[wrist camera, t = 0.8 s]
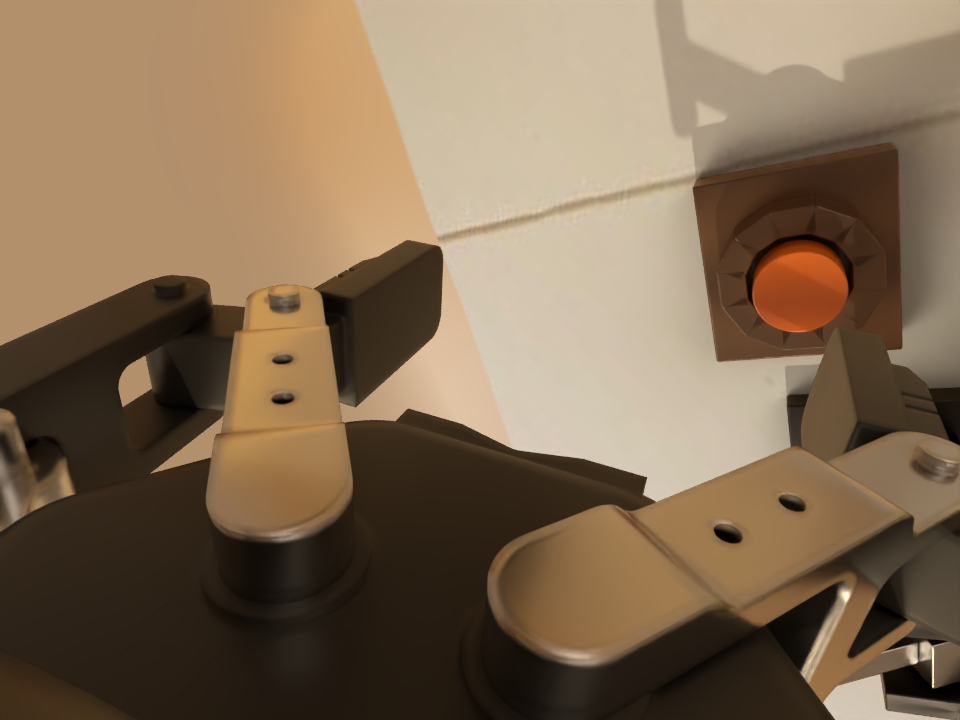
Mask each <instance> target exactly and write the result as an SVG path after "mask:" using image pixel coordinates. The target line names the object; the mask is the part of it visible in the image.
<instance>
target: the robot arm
mask: <svg viewBox="0 0 960 720" xmlns="http://www.w3.org/2000/svg"><path fill="white" fill-rule="evenodd" d="M442 274H443V254H442V250H441V248H440V247H439V246H436V245H431V244H426V243H420V242H415V241H411V240H407V241H404V242H403V243H401V244H399V245H398V246H396V247H394V248H392V249H391V250H389V251H387V252H386V253H384V254H382V255H380V256H379V257H376V258H372V259H368V260H364V261H362V262H360V263H358V264H356V265H354V266H353V267H351V268H349V270H346V271H344V272H342V273H340V274H339V275H338V277H336V276H335V277H333V278H332V279H330V280H328V281H326V282H325V283H323V284H321V285H319V286H318V287H316V288H314V289H312V288H308V287H305V286H299V285H277V286H270V287H266V288H262V289H259V290H257V291H255V292H253V293H251V294H250V295H249V296H248V297H247V299H246V305H245V307H237V306H224V305H212V298H211V292H210V286H209V284H208V282H206V281H205V280H202V279H199V278H196V277H189V276H177V275H176V276H175V275H170V276H163V277H159V278H156V279H151V280H148V281H145V282H143V283H140V284H138V285H136V286H133V287H131V288H129V289H127V290H124V291H122V292H120V293H118V294H116V295H113V296H111V297H109V298H107V299H104V300H102V301H100V302H97V303H95V304H93V305H91V306H88V307H86V308H84V309H82V310H80V311H77V312H75V313H73V314H71V315H68V316H66V317H64V318H62V319H59V320H57V321H55V322H53V323H50V324H48V325H46V326H44V327H41V328H39V329H37V330H35V331H32V332H30V333H28V334H26V335H23V336H21V337H19V338H17V339H14V340H12V341H10V342H8V343H5V344H3V345H1V346H0V720H835V719H834V718H833V716H832V715H831V714H830V712H829V711H828V710H827V708H826V707H825V706H824V704H823V702H824V700H825V699H826V698H827V696H828V695H829V694H830V693H831V692H832V691H833V689H834V688H835V687H836V686H838V685H839V684H840V683H841V682H842V681H843V680H845V679H846V678H848V677H849V676H850V675H852V674H853V673H854V672H856V671H857V670H859V669H860V668H861V667H863V666H864V665H866V664H867V663H868V662H870V661H871V660H873V659H874V658H875V657H877V656H878V655H879V654H881V653H882V652H884V651H885V650H886V649H888V648H889V647H891V646H892V645H893V644H895V643H896V642H898V641H899V640H900V639H902V638H903V637H904V636H906V635H907V634H909V633H910V632H911V631H912V630H913V629H914V628H915V627H916V625H917V624H918V625H920V626H922V627H923V628H925V629H927V630H929V631H931V632H933V633H935V634H937V635H938V636H940V637H942V638H944V639H946V640H948V641H950V642H952V643H953V644H955V645H957V646H959V647H960V446H959V445H957V444H955V443H952V442H950V440H949V438H948V435H947V433H946V431H945V428H944V426H943V423H942V421H941V419H940V416H939V415H937V412H938V411H937V409H936V407H935V404H934V402H932V397H931V394H930V392H929V390H928V387H927V385H926V383H925V382H924V381H922V380H921V379H920V378H919V377H918V376H917V375H915V374H914V373H913V372H912V371H911V370H910V369H908V368H907V367H903V366H898V365H893V364H891V362H890V359H889V356H888V353H887V350H886V347H885V344H884V341H883V338H882V336H881V335H876V334H871V333H866V332H861V331H856V330H851V329H846V328H841V327H836V328H835V329H834V331H833V332H832V334H831V337H830V339H829V342H828V344H827V347H826V350H825V352H824V355H823V358H822V361H821V364H820V366H819V369H818V372H817V375H816V377H815V380H814V383H813V386H812V388H811V391H810V394H809V397H808V399H807V402H806V406H805V409H804V413H803V418H802V424H801V442H802V447H801V446H793V447H790V448H788V449H785V450H783V451H780V452H778V453H775V454H773V455H770V456H768V457H766V458H763V459H761V460H758V461H756V462H753V463H751V464H748V465H746V466H744V467H741V468H739V469H736V470H734V471H731V472H729V473H726V474H724V475H722V476H719V477H717V478H714V479H712V480H709V481H707V482H704V483H702V484H700V485H697V486H695V487H692V488H690V489H687V490H685V491H682V492H680V493H678V494H675V495H673V496H670V497H668V498H665V499H663V500H660V501H658V502H655V501H654V500H652V499H650V498H648V497H646V496H644V495H643V493H644V488H645V484H646V480H647V477H644V476H640V475H637V474H633V473H630V472H626V471H623V470H619V469H616V468H612V467H609V466H605V465H602V464H599V463H595V462H592V461H588V460H585V459H579V458H571V457H563V456H556V455H548V454H540V453H532V452H525V451H518V450H514V449H512V448H509V447H507V446H505V445H503V444H501V443H499V442H497V441H495V440H493V439H491V438H489V437H487V436H485V435H483V434H481V433H479V432H477V431H475V430H473V429H471V428H469V427H467V426H465V425H463V424H460V423H457V422H453V421H449V420H446V419H442V418H439V417H436V416H432V415H429V414H425V413H422V412H418V411H415V410H411V409H407V410H406V411H405V412H404V413H403V414H402V415H401V416H400V417H399V418H398V419H397V420H396V421H384V420H364V421H354V422H347V423H344V422H342V416H341V410H340V403H343V404H346V405H350V406H353V407H357V406H358V405H359V404H360V403H361V402H362V401H363V400H364V399H365V398H367V397H368V396H369V395H370V394H371V393H372V392H373V391H374V390H375V389H376V388H378V387H379V386H380V385H381V384H382V383H383V382H384V381H385V380H387V379H388V378H389V377H390V376H391V375H392V374H393V373H394V372H395V371H397V370H398V369H399V368H400V367H401V366H402V365H403V364H404V363H405V362H406V361H408V360H409V359H410V358H411V357H412V356H413V355H414V354H415V353H416V352H417V351H419V350H420V349H421V348H422V347H423V346H424V345H425V344H426V343H427V342H428V341H430V340H431V339H432V338H433V336H434V335H435V333H436V331H437V329H438V326H439V322H440V317H441V301H442V276H443V275H442ZM143 356H146V361H147V365H148V370H149V375H150V380H151V384H152V389H151V390H149V391H148V392H146V393H144V394H143V395H141V396H140V397H138V398H137V399H135V400H134V401H132V402H130V403H129V404H127V405H126V406H124V407H123V408H122V404H121V399H120V395H119V390H118V384H119V379H120V376H121V374H122V372H123V371H124V370H125V368H126V367H127V366H128V365H130V364H131V363H133V362H134V361H136V360H138V359H140V358H141V357H143ZM223 415H224V416H223ZM222 416H223V423H222V431H221V434H216V436H215V438H214V443H213V450H212V457H211V458H208V459H204V460H201V461H196V462H193V463H189V464H185V465H181V466H178V467H174V468H170V469H166V470H163V471H159V472H155V473H151V472H152V471H153V470H155V469H156V468H158V467H159V466H160V465H161V464H163V463H164V462H165V461H166V460H168V459H169V458H170V457H172V456H173V455H174V454H175V453H177V452H178V451H179V450H181V449H182V448H183V447H184V446H186V445H187V444H188V443H189V442H191V441H192V440H193V439H195V438H196V437H197V436H198V435H200V434H201V433H202V432H204V431H205V430H206V429H207V428H209V427H210V426H211V425H212V424H214V423H215V422H216V421H218V420H219V419H220V418H221V417H222ZM150 473H151V474H150Z"/></svg>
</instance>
